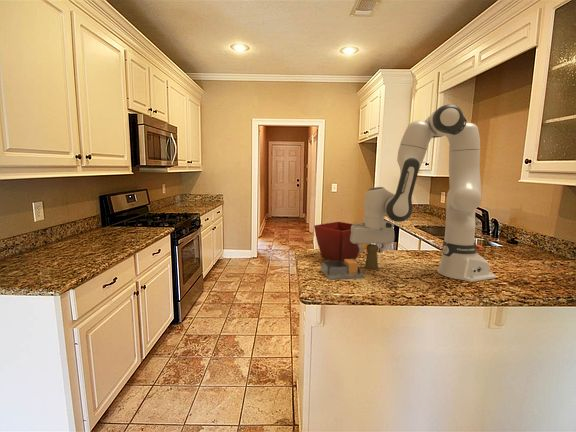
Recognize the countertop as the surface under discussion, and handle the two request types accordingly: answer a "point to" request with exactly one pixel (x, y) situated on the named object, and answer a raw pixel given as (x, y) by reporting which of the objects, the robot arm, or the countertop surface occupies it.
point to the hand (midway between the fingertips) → (370, 252)
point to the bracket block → (351, 265)
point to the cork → (371, 257)
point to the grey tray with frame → (339, 270)
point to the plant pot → (336, 241)
